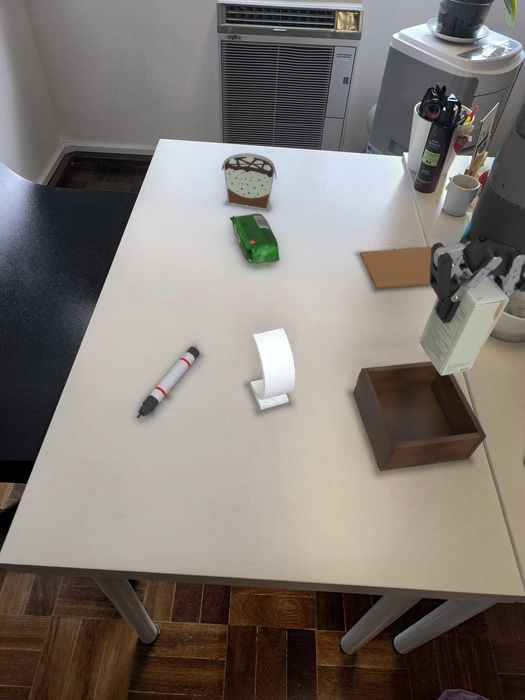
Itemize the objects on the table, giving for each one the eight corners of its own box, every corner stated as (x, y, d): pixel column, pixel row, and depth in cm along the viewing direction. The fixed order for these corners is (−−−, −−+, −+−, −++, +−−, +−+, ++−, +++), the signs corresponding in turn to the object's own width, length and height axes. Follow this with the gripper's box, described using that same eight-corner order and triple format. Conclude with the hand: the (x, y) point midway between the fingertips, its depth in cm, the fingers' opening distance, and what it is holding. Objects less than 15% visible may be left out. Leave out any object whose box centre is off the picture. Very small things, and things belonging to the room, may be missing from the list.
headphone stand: (277, 378, 77) (283, 327, 68) (290, 407, 73) (299, 358, 64) (250, 384, 76) (252, 334, 66) (262, 415, 72) (267, 366, 63)
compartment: (431, 384, 77) (445, 359, 72) (468, 459, 69) (486, 436, 64) (352, 393, 75) (361, 368, 70) (379, 471, 67) (391, 448, 62)
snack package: (259, 224, 105) (260, 203, 101) (281, 267, 95) (283, 246, 91) (228, 228, 103) (228, 207, 99) (248, 273, 93) (248, 252, 89)
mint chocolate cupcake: (279, 197, 112) (282, 157, 104) (273, 211, 108) (276, 170, 100) (229, 188, 113) (228, 148, 106) (222, 202, 109) (221, 161, 102)
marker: (190, 352, 79) (189, 344, 78) (200, 356, 79) (199, 349, 77) (132, 419, 70) (130, 412, 69) (143, 425, 70) (141, 418, 68)
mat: (430, 249, 101) (431, 247, 101) (451, 283, 94) (452, 281, 94) (359, 254, 99) (360, 251, 99) (376, 289, 92) (376, 286, 92)
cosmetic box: (470, 371, 59) (513, 301, 50) (439, 377, 59) (477, 307, 49) (445, 334, 63) (481, 263, 54) (416, 339, 63) (447, 268, 53)
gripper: (477, 212, 39) (418, 345, 52) (628, 202, 41) (534, 333, 54) (441, 166, 44) (395, 299, 57) (578, 159, 46) (503, 289, 59)
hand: (463, 315), depth 55 cm, fingers closed on cosmetic box, 4 cm apart
